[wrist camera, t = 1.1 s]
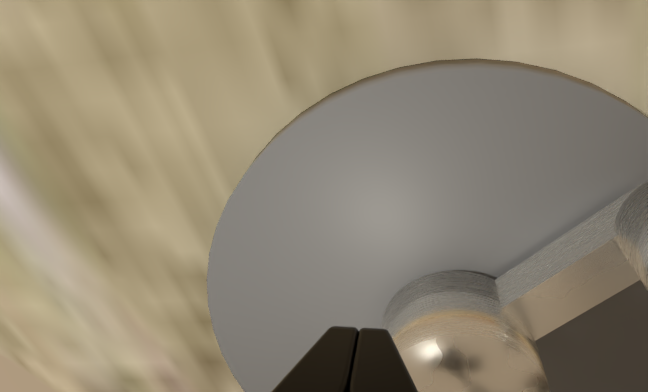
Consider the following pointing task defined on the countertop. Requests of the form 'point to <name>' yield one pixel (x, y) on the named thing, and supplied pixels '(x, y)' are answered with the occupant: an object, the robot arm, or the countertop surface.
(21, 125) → the countertop surface
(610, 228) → the silver dumbbell
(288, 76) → the countertop surface
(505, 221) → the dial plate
